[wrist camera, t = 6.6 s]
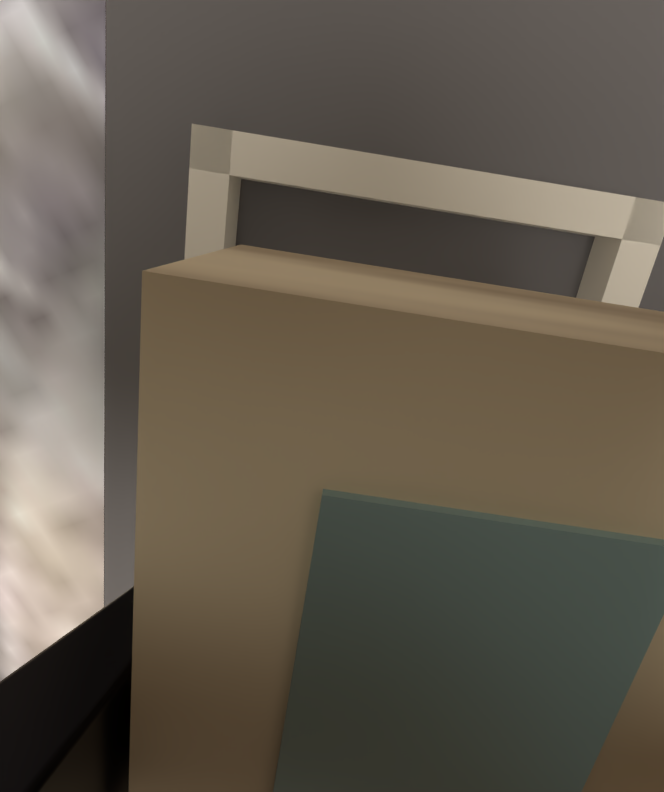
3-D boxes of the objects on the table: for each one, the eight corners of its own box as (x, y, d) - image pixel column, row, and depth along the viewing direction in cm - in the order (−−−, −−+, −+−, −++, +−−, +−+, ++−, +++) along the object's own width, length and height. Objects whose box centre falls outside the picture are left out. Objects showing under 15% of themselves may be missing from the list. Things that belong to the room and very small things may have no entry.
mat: (1386, -92, 10) (1606, -158, 8) (831, 732, 17) (884, 790, 15) (121, -329, 9) (70, -453, 7) (112, 631, 16) (85, 679, 15)
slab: (490, 800, 10) (560, 1086, 7) (195, 759, 10) (119, 1030, 7) (674, 313, 7) (982, 405, 4) (240, 244, 7) (136, 272, 3)
